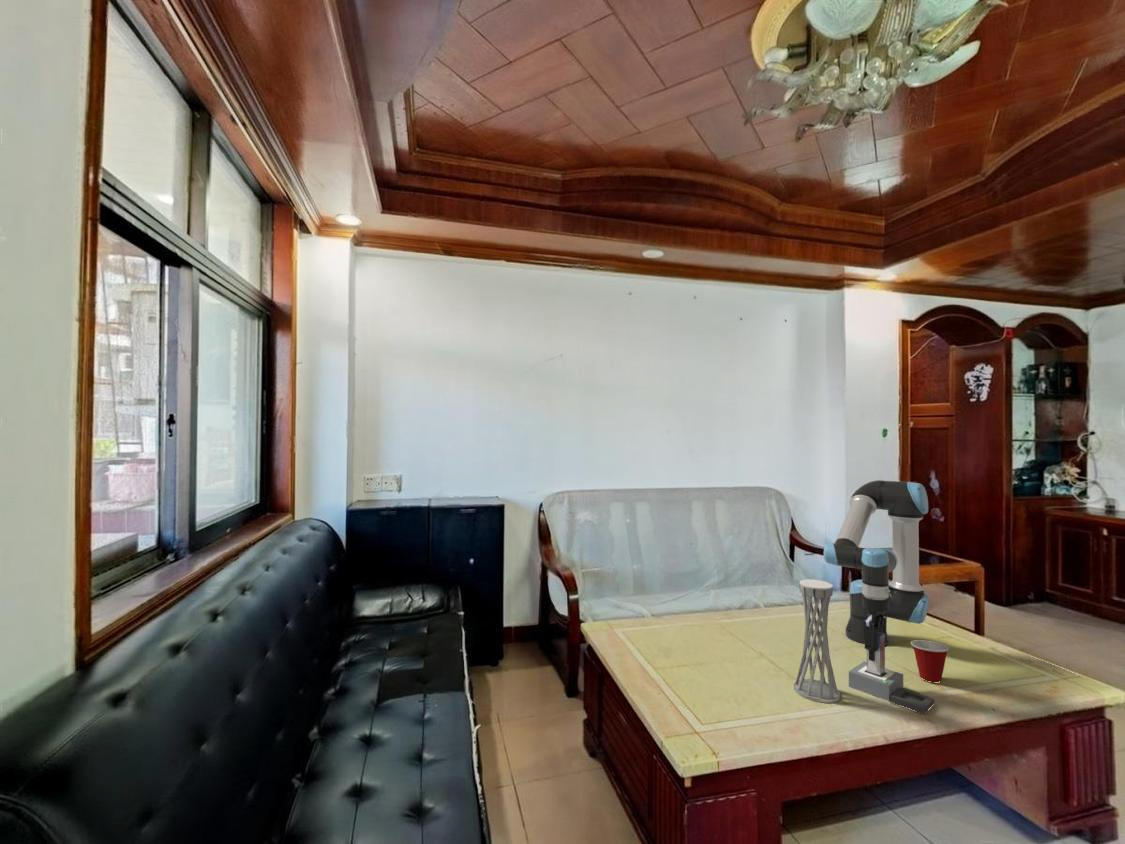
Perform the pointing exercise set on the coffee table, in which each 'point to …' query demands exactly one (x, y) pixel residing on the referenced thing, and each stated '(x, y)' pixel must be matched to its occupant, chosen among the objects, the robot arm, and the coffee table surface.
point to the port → (875, 681)
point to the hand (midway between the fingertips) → (875, 667)
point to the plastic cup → (930, 659)
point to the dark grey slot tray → (912, 700)
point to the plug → (879, 656)
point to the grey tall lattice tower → (812, 687)
